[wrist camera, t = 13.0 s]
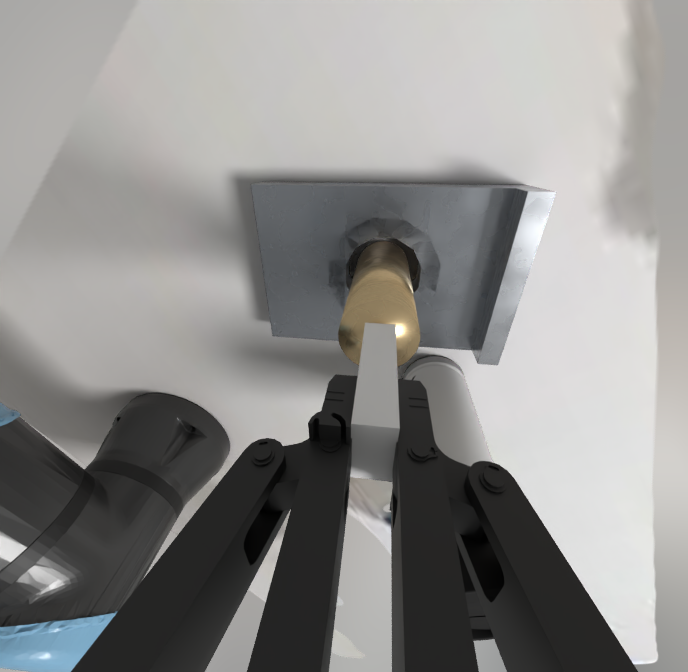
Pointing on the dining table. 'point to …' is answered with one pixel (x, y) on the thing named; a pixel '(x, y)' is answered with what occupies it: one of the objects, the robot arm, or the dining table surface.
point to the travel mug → (455, 444)
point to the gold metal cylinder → (380, 301)
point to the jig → (417, 233)
